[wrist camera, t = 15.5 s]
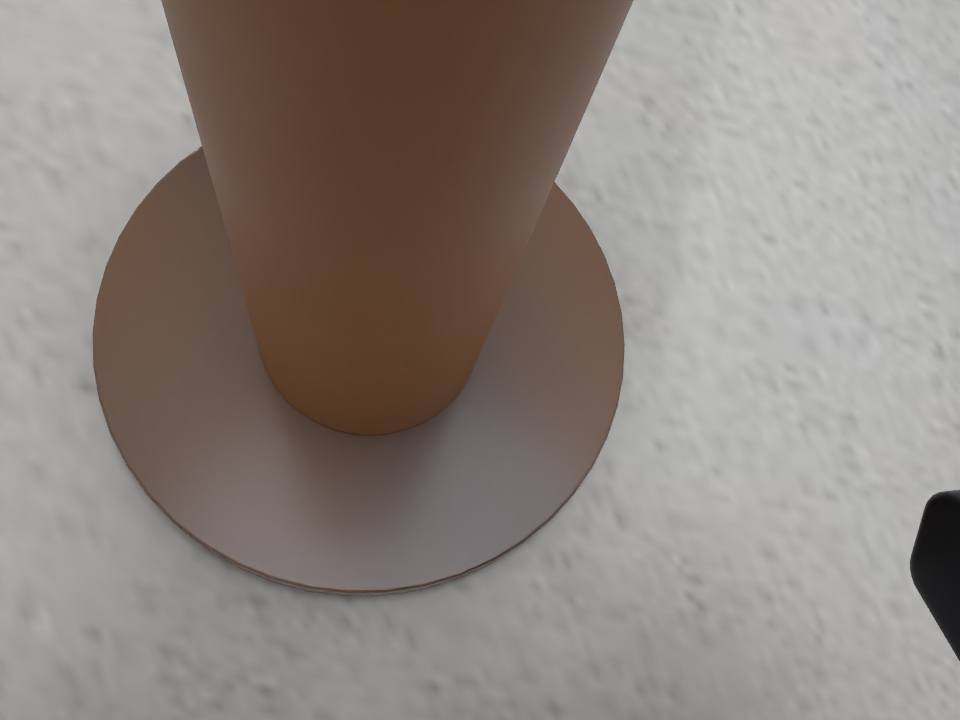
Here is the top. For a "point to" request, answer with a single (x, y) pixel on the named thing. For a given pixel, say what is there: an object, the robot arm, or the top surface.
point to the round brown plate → (339, 455)
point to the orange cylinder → (383, 177)
